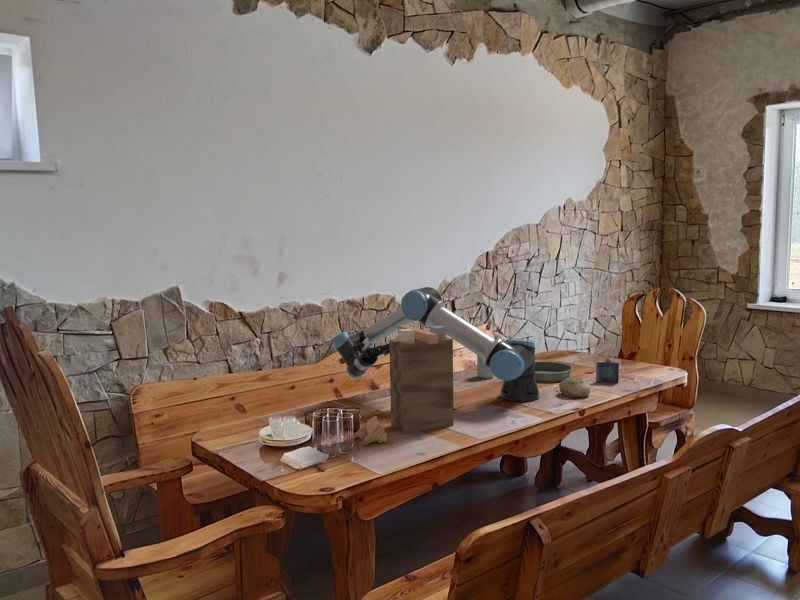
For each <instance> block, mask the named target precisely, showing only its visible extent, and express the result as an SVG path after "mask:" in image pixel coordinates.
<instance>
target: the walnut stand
mask: <svg viewBox="0 0 800 600" xmlns="http://www.w3.org/2000/svg"><path fill="white" fill-rule="evenodd" d="M453 343H454V340H453V339H452V338H450V337H448V336H446V339H439V340H438V343H435V344H428V343H425V342H422V341H419V340H416V339H415V342H410V343H402V342H399V341H398V339H395V338H394V339H389V343H388V344H389V345H390V353H389V383H390V385H389V386H390V389H389V390H390V391H389V393H390V426H391V427H392V428H394V429H396V430H397V431H399V432H400V433H402V434H404V435H406V434H411V433H417V432H423V431H428V430H434V429H440V428H441V429H442V428H445V427H452V426H454V421H455V420H454V344H453Z"/></svg>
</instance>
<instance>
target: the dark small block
mask: <svg viewBox="0 0 800 600" xmlns="http://www.w3.org/2000/svg"><path fill="white" fill-rule="evenodd" d="M595 364H596V365H595V367H596V369H595V382H596V383H605V384H606V383H607V384H619V379H620V378H619V368H620V367H619V365H620V364H619V362H618V361H615V360H611V359H610V357H609V356H608V357H605V360H603V361H602V360H597V361H596V363H595Z"/></svg>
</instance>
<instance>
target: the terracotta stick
mask: <svg viewBox="0 0 800 600" xmlns="http://www.w3.org/2000/svg"><path fill="white" fill-rule="evenodd" d="M399 329H412V330H414V338H415V339H416V340H419V341H422V342H425V343H428V344H435V343H438V334H435V333H432V332H430V331H428V330H424V329H420V328H418V327H414V326H410V325H409V324H407V325H398V330H399ZM398 330H397V331H398Z"/></svg>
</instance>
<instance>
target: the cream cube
mask: <svg viewBox="0 0 800 600" xmlns="http://www.w3.org/2000/svg"><path fill="white" fill-rule="evenodd" d="M397 336H398V341H399V342H402V343H410V342H415V338H414V330H412V329H399V330H397Z"/></svg>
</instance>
